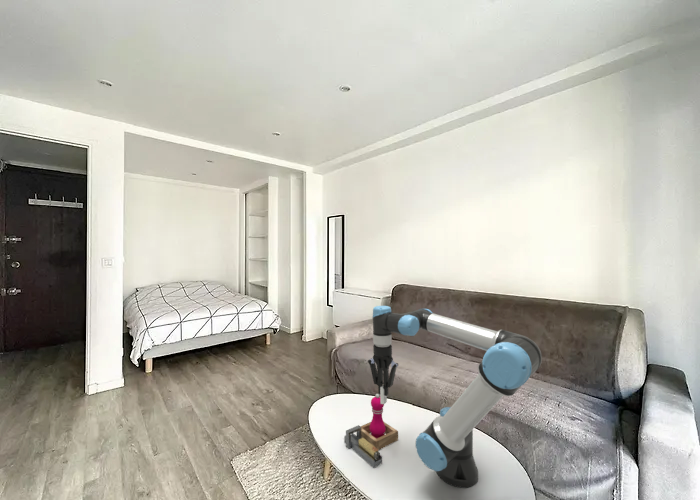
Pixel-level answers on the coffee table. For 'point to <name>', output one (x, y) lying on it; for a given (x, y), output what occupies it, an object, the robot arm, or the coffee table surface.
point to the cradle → (381, 441)
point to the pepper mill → (377, 418)
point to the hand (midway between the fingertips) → (383, 402)
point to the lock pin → (369, 449)
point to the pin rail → (353, 443)
